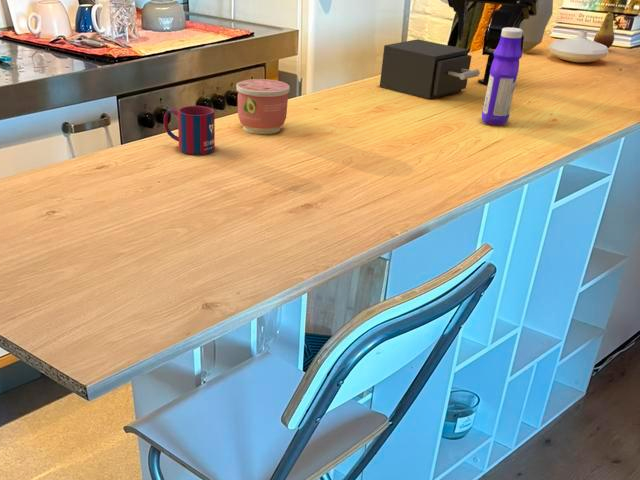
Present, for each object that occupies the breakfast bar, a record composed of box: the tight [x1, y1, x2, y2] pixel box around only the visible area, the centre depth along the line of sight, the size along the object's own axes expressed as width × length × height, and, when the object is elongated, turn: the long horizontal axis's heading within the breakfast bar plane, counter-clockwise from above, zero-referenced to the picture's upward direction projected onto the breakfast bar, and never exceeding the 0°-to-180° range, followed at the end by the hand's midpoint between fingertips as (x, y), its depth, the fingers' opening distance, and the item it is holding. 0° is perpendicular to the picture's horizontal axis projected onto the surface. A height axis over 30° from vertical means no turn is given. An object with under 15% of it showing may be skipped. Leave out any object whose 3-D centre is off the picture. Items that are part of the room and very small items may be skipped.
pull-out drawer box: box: [433, 54, 480, 96], centre depth 189 cm, size 18×12×7 cm, turn 44°
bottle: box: [481, 27, 523, 127], centre depth 168 cm, size 7×6×17 cm
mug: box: [163, 105, 216, 156], centre depth 151 cm, size 7×10×7 cm
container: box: [235, 78, 291, 135], centre depth 162 cm, size 10×10×8 cm
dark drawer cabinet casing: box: [379, 38, 469, 100], centre depth 191 cm, size 15×13×9 cm
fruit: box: [593, 3, 617, 49], centre depth 234 cm, size 6×6×12 cm
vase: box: [549, 30, 610, 63], centre depth 223 cm, size 16×16×7 cm
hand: (481, 42), depth 172 cm, fingers open, 9 cm apart
